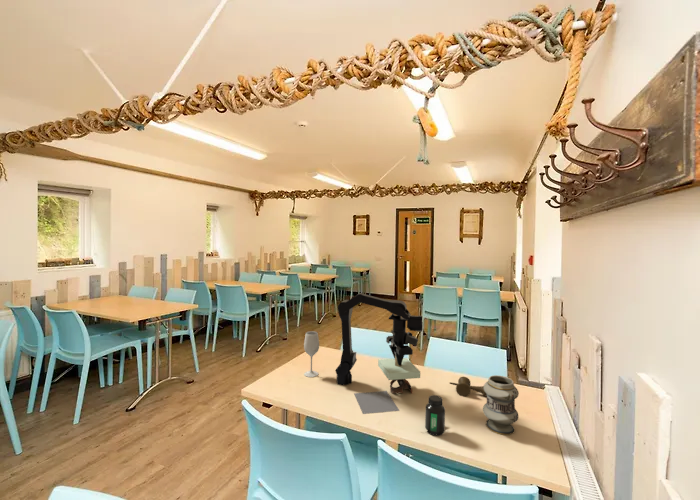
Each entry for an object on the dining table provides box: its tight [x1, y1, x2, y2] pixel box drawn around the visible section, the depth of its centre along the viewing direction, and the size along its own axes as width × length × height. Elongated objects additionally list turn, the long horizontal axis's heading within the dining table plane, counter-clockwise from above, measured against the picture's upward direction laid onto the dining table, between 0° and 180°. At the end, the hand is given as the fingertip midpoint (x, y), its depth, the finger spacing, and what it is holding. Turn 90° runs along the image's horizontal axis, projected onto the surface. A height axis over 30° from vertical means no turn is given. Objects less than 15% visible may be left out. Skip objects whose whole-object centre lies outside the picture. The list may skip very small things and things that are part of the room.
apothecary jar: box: [482, 374, 519, 436], centre depth 122 cm, size 12×12×18 cm
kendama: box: [449, 376, 487, 397], centre depth 149 cm, size 6×10×20 cm
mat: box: [353, 390, 400, 415], centre depth 138 cm, size 15×17×1 cm
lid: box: [377, 356, 421, 381], centre depth 149 cm, size 14×16×8 cm
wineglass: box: [303, 330, 320, 378], centre depth 166 cm, size 8×8×21 cm
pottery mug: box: [389, 379, 413, 394], centre depth 149 cm, size 12×10×8 cm
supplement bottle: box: [424, 394, 446, 437], centre depth 119 cm, size 7×7×12 cm
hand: (398, 363), depth 149 cm, fingers closed on lid, 3 cm apart
